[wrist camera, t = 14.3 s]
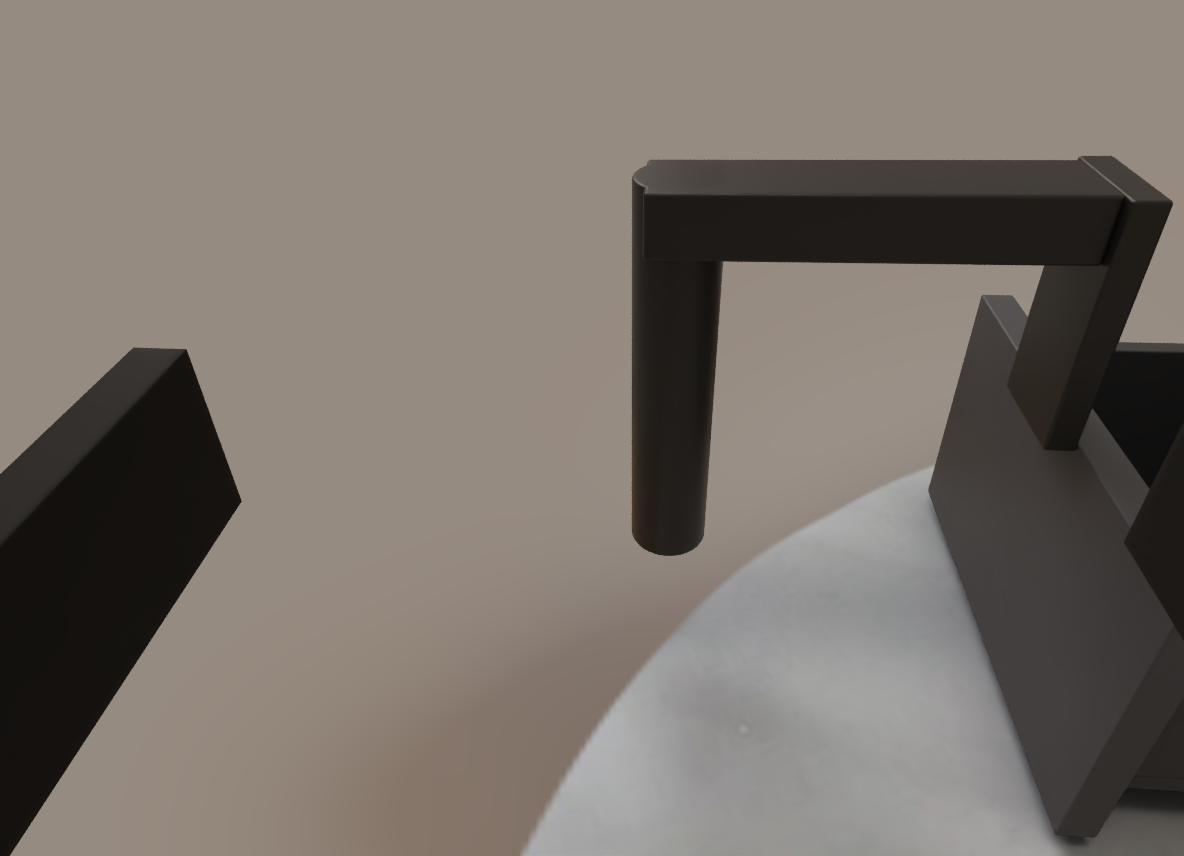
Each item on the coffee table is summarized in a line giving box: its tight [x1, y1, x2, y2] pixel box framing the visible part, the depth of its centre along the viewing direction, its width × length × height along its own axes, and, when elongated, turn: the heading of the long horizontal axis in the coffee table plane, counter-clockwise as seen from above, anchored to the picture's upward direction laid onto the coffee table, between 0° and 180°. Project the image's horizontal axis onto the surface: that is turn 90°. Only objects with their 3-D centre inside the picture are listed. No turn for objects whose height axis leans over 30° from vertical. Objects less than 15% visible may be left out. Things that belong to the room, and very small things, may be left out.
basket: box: [632, 156, 1184, 837], centre depth 22 cm, size 25×14×15 cm, turn 85°
